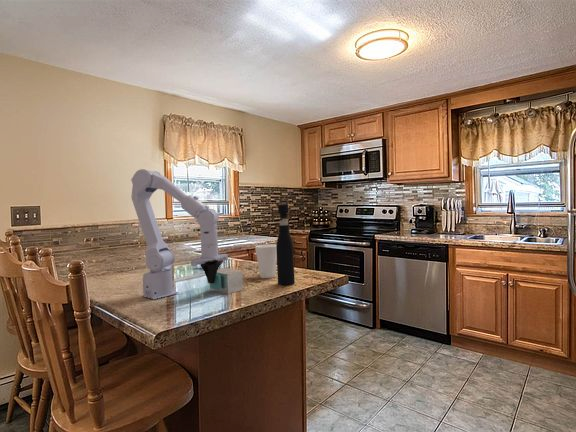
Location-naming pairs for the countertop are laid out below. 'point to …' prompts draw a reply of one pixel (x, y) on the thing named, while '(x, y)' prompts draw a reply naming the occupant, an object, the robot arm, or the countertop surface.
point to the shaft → (217, 283)
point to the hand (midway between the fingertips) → (211, 283)
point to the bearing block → (230, 280)
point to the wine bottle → (284, 250)
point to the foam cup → (266, 260)
